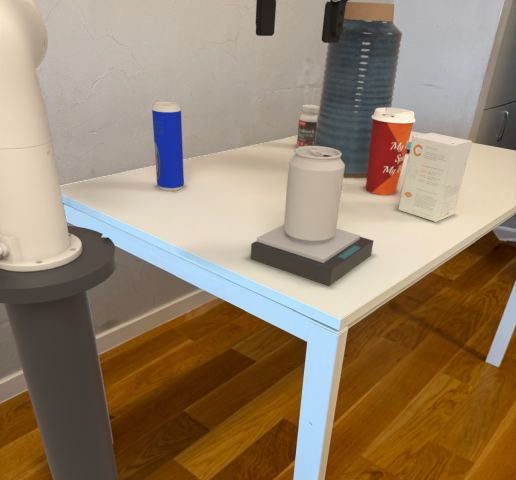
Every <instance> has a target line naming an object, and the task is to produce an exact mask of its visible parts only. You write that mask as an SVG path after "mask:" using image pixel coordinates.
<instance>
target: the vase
mask: <svg viewBox="0 0 516 480" xmlns="http://www.w3.org/2000/svg"><path fill="white" fill-rule="evenodd" d="M394 15H395V3H385V2H384V3H383V2H364V1H349V2H348V3H346V7H345V15H344V23H343V30H342V33H341V35H340V39H339V42H338V43H327V46H326V53H325V56H326V57H325V63H324V69H323V76H322V83H321V85H322V86H321V92H320V98H319V104H318V106H319V114H318V116H317V124H316V131H315V141H314V146H322V147H329V148H333V149H336V150H338V151H340V152H341V153H342V155H341V157H340V158H341V160H342V161H343V163H344V164H345V168H344V176H343V178H367V171H368V162H369V152H370V143H371V133H372V124H373V118H372V115H374V112H375V110H376V109H377V108H393V104H392V103H393V97H394V90H395V84H396V77H397V70H398V64H399V59H400V58H399V57H400V56H399V55H400V51H401V50H400V48H401V42H402V39H403V32H402V31H401V30H400V29H399V28H398V27H397V25H396V24H395V23H394V17H395V16H394Z"/></svg>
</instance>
